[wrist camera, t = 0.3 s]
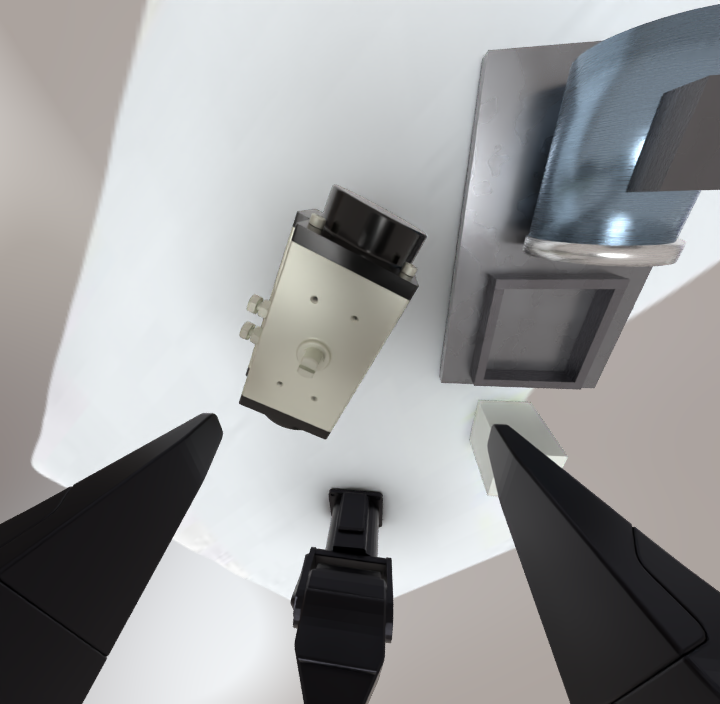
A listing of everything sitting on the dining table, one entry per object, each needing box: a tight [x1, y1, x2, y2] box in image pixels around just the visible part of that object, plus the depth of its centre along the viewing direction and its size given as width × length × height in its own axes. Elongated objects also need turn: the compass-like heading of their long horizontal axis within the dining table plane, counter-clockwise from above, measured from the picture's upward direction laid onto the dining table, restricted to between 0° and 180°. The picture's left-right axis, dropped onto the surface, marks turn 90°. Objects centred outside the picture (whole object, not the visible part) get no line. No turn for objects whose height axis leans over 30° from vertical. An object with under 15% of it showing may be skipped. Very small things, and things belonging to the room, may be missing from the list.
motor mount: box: [440, 4, 720, 389], centre depth 15 cm, size 20×12×8 cm, turn 2°
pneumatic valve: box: [239, 184, 427, 439], centre depth 16 cm, size 6×12×12 cm, turn 154°
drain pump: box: [469, 400, 568, 496], centre depth 23 cm, size 5×4×7 cm
